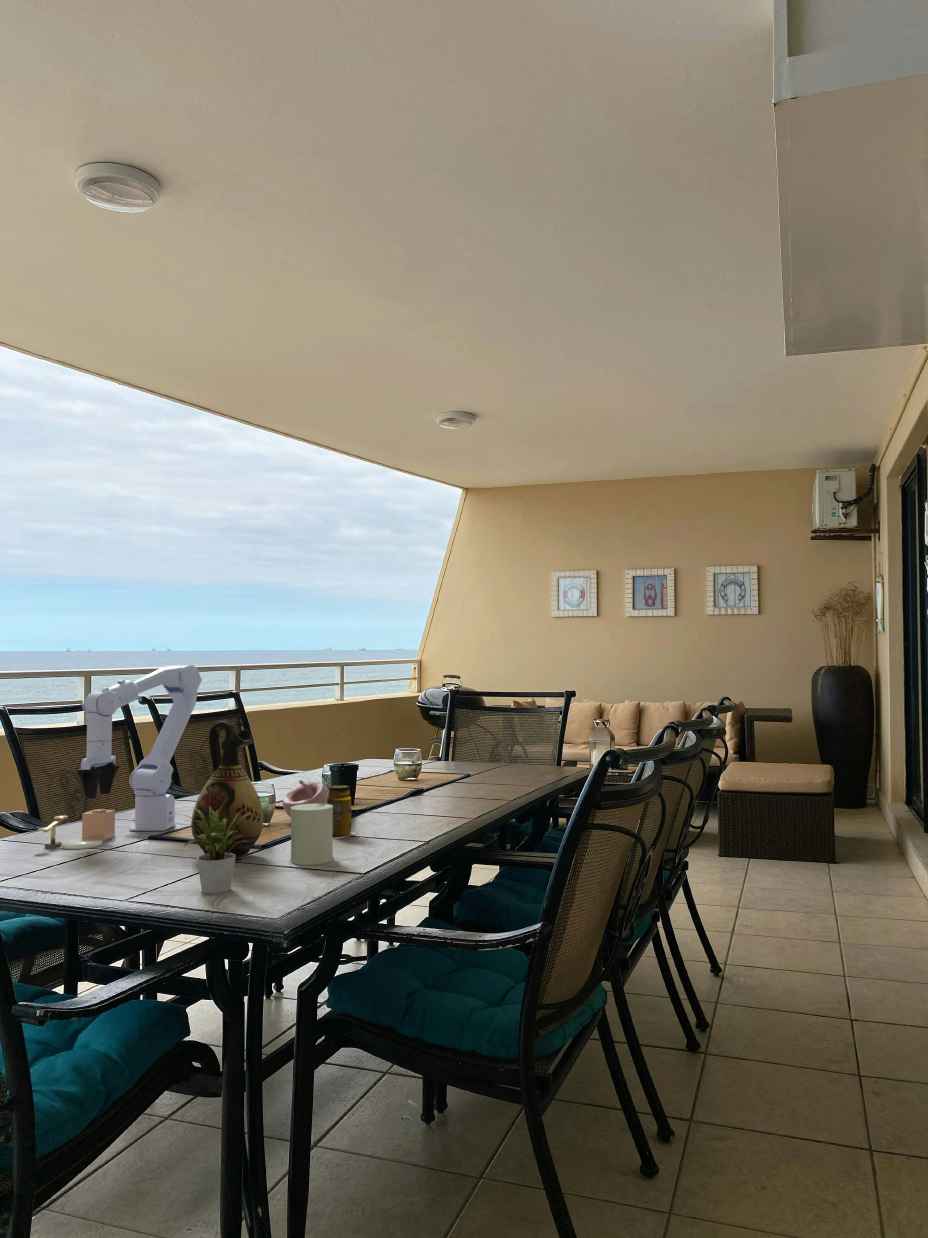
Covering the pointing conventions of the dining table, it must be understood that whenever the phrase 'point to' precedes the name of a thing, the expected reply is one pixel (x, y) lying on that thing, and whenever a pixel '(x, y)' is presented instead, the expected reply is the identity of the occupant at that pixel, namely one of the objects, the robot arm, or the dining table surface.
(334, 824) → the condiment
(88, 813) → the peach wooden cube
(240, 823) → the ceramic jug
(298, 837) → the can
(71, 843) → the saucer
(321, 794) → the mortar and pestle
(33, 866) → the dining table surface
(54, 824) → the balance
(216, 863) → the house plant
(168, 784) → the robot arm
